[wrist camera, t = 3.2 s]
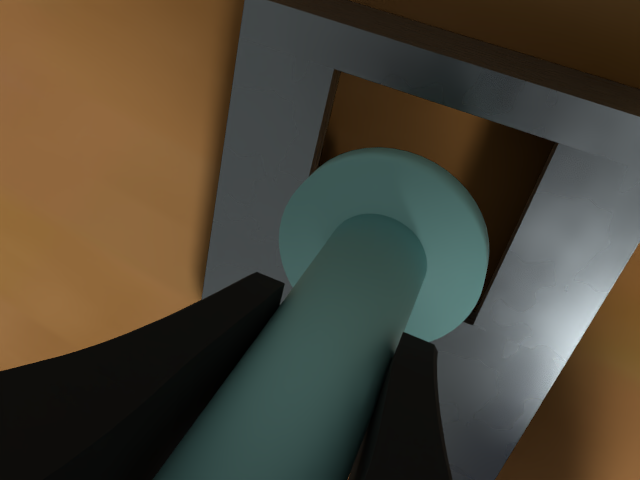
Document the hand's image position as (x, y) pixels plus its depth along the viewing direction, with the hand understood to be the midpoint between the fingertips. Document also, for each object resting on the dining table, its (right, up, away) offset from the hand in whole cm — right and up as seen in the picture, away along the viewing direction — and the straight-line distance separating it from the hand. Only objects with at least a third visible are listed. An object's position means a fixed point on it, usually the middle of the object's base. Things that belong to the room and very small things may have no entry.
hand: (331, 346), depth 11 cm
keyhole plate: (+3, +1, +11) cm, 11 cm away
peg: (+1, +2, +3) cm, 4 cm away
